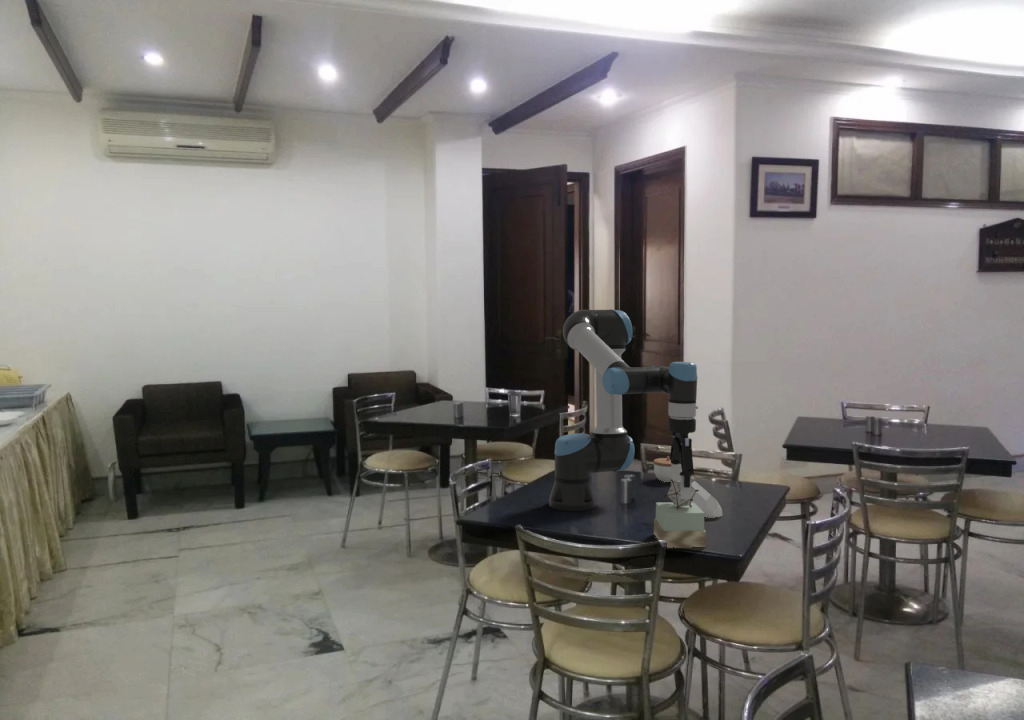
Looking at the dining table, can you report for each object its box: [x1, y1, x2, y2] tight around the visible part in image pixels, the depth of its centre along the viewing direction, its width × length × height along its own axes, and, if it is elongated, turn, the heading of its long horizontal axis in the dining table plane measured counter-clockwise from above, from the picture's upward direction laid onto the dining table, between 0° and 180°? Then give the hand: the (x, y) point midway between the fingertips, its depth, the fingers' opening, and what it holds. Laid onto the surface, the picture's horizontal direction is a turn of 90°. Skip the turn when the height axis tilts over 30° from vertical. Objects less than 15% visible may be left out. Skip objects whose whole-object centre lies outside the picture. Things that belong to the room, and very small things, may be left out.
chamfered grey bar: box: [691, 480, 723, 519], centre depth 245 cm, size 7×7×24 cm
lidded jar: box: [653, 455, 682, 483], centre depth 284 cm, size 11×11×9 cm
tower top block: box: [655, 501, 705, 531], centre depth 211 cm, size 11×11×5 cm
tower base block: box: [653, 518, 707, 549], centre depth 211 cm, size 12×12×5 cm
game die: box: [663, 479, 699, 509], centre depth 210 cm, size 9×8×10 cm
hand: (680, 492), depth 211 cm, fingers open, 13 cm apart
